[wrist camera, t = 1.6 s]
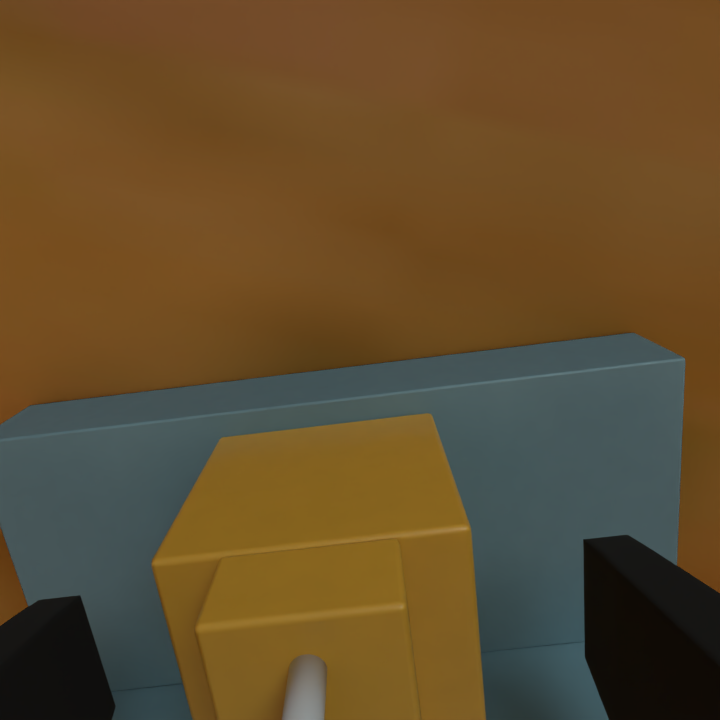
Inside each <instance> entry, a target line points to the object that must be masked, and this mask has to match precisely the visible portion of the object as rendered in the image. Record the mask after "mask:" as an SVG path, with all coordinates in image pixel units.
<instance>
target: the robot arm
mask: <svg viewBox="0 0 720 720" xmlns="http://www.w3.org/2000/svg"><path fill="white" fill-rule="evenodd" d="M583 552H584V634H585V659H586V662H587V664H588V667H589V669H590V672H591V675H592V677H593V680H594V683H595V685H596V688H597V690H598V693H599V696H600V698H601V701H602V703H603V706H604V708H605V711H606V713H607V716H608V718H609V720H720V593H718V592H717V591H715V590H713V589H712V588H710V587H709V586H707V585H706V584H704V583H703V582H701V581H700V580H698V579H696V578H695V577H693V576H692V575H690V574H689V573H687V572H686V571H684V570H683V569H681V568H680V567H678V566H677V565H675V564H673V563H672V562H670V561H669V560H667V559H666V558H664V557H663V556H661V555H660V554H658V553H656V552H655V551H653V550H652V549H650V548H649V547H647V546H645V545H644V544H642V543H641V542H639V541H637V540H636V539H634V538H632V537H631V536H629V535H619V536H610V537H601V538H591V539H583ZM115 707H116V706H115V702H114V699H113V696H112V693H111V690H110V687H109V684H108V680H107V677H106V674H105V671H104V668H103V665H102V662H101V658H100V655H99V652H98V649H97V646H96V643H95V640H94V636H93V633H92V630H91V627H90V624H89V621H88V618H87V614H86V611H85V608H84V605H83V602H82V599H81V596H80V595H78V596H69V597H60V598H51V599H42V600H38V601H37V602H35V603H34V604H32V605H30V606H29V607H27V608H26V609H24V610H23V611H21V612H20V613H18V614H17V615H15V616H14V617H12V618H11V619H10V620H8V621H7V622H5V623H4V624H2V625H1V626H0V720H112V717H113V714H114V710H115Z"/></svg>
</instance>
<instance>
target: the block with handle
mask: <svg viewBox="0 0 720 720" xmlns="http://www.w3.org/2000/svg"><path fill="white" fill-rule="evenodd" d="M151 566H152V571H153V574H154V578H155V582H156V586H157V589H158V593H159V597H160V600H161V604H162V608H163V612H164V615H165V619H166V623H167V627H168V630H169V634H170V638H171V641H172V645H173V649H174V653H175V656H176V660H177V664H178V667H179V671H180V675H181V679H182V682H183V686H184V690H185V694H186V697H187V701H188V705H189V708H190V712H191V716H192V720H486V711H485V698H484V685H483V673H482V660H481V647H480V634H479V621H478V609H477V596H476V583H475V570H474V557H473V544H472V532H471V526H470V523H469V521H468V518H467V515H466V512H465V509H464V506H463V503H462V500H461V497H460V494H459V492H458V489H457V486H456V483H455V480H454V477H453V474H452V471H451V468H450V465H449V463H448V460H447V457H446V454H445V451H444V448H443V445H442V442H441V439H440V436H439V434H438V431H437V428H436V425H435V422H434V419H433V417H432V415H431V414H429V413H425V414H417V415H408V416H400V417H391V418H383V419H374V420H366V421H357V422H349V423H340V424H332V425H323V426H315V427H306V428H298V429H289V430H281V431H272V432H264V433H255V434H247V435H238V436H230V437H223V438H221V439H220V440H219V441H218V443H217V445H216V447H215V448H214V450H213V452H212V454H211V456H210V457H209V459H208V461H207V463H206V465H205V466H204V468H203V470H202V472H201V473H200V475H199V477H198V479H197V481H196V482H195V484H194V486H193V488H192V490H191V491H190V493H189V495H188V497H187V498H186V500H185V502H184V504H183V506H182V507H181V509H180V511H179V513H178V515H177V516H176V518H175V520H174V522H173V523H172V525H171V527H170V529H169V531H168V532H167V534H166V536H165V538H164V540H163V541H162V543H161V545H160V547H159V548H158V550H157V552H156V554H155V556H154V557H153V559H152V563H151Z"/></svg>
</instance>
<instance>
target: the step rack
mask: <svg viewBox="0 0 720 720" xmlns="http://www.w3.org/2000/svg"><path fill="white" fill-rule="evenodd" d="M684 378H685V359H684V358H683V357H681V356H679V355H677V354H675V353H673V352H671V351H669V350H667V349H665V348H663V347H661V346H659V345H657V344H655V343H653V342H651V341H649V340H647V339H645V338H643V337H641V336H639V335H637V334H635V333H627V334H618V335H610V336H602V337H594V338H585V339H577V340H569V341H560V342H552V343H544V344H536V345H527V346H519V347H511V348H502V349H494V350H486V351H478V352H469V353H461V354H453V355H444V356H436V357H428V358H420V359H411V360H403V361H395V362H386V363H378V364H370V365H362V366H353V367H345V368H337V369H329V370H320V371H312V372H304V373H295V374H287V375H279V376H271V377H262V378H254V379H246V380H237V381H229V382H221V383H213V384H204V385H196V386H188V387H179V388H171V389H163V390H155V391H146V392H138V393H130V394H121V395H113V396H105V397H97V398H88V399H80V400H72V401H64V402H55V403H47V404H39V405H30V406H29V407H27V408H26V409H24V410H22V411H21V412H19V413H18V414H16V415H15V416H13V417H12V418H10V419H9V420H7V421H5V422H4V423H2V424H1V425H0V527H1V530H2V533H3V535H4V538H5V541H6V544H7V547H8V550H9V553H10V556H11V558H12V561H13V564H14V567H15V570H16V573H17V576H18V578H19V581H20V584H21V587H22V590H23V593H24V596H25V598H26V601H27V604H28V607H29V606H30V605H32V604H34V603H35V602H37V601H38V600H42V599H51V598H60V597H69V596H78V595H80V596H81V599H82V602H83V605H84V608H85V611H86V614H87V618H88V621H89V624H90V627H91V630H92V633H93V636H94V640H95V643H96V646H97V649H98V652H99V655H100V658H101V662H102V665H103V668H104V671H105V674H106V677H107V680H108V684H109V687H110V690H111V693H112V696H113V699H114V702H115V706H116V707H115V710H114V714H113V717H112V720H192V716H191V712H190V708H189V705H188V701H187V697H186V694H185V690H184V686H183V682H182V679H181V675H180V671H179V667H178V664H177V660H176V656H175V653H174V649H173V645H172V641H171V638H170V634H169V630H168V627H167V623H166V619H165V615H164V612H163V608H162V604H161V600H160V597H159V593H158V589H157V586H156V582H155V578H154V574H153V571H152V566H151V563H152V559H153V557H154V556H155V554H156V552H157V550H158V548H159V547H160V545H161V543H162V541H163V540H164V538H165V536H166V534H167V532H168V531H169V529H170V527H171V525H172V523H173V522H174V520H175V518H176V516H177V515H178V513H179V511H180V509H181V507H182V506H183V504H184V502H185V500H186V498H187V497H188V495H189V493H190V491H191V490H192V488H193V486H194V484H195V482H196V481H197V479H198V477H199V475H200V473H201V472H202V470H203V468H204V466H205V465H206V463H207V461H208V459H209V457H210V456H211V454H212V452H213V450H214V448H215V447H216V445H217V443H218V441H219V440H220V439H221V438H223V437H230V436H238V435H247V434H255V433H264V432H272V431H281V430H289V429H298V428H306V427H315V426H323V425H332V424H340V423H349V422H357V421H366V420H374V419H383V418H391V417H400V416H408V415H417V414H425V413H429V414H431V415H432V417H433V419H434V422H435V425H436V428H437V431H438V434H439V436H440V439H441V442H442V445H443V448H444V451H445V454H446V457H447V460H448V463H449V465H450V468H451V471H452V474H453V477H454V480H455V483H456V486H457V489H458V492H459V494H460V497H461V500H462V503H463V506H464V509H465V512H466V515H467V518H468V521H469V523H470V526H471V532H472V544H473V557H474V570H475V583H476V596H477V609H478V621H479V634H480V647H481V660H482V673H483V685H484V698H485V711H486V720H609V718H608V716H607V713H606V711H605V708H604V706H603V703H602V701H601V698H600V696H599V693H598V690H597V688H596V685H595V683H594V680H593V677H592V675H591V672H590V669H589V667H588V664H587V662H586V659H585V634H584V552H583V539H591V538H601V537H610V536H619V535H629V536H631V537H632V538H634V539H636V540H637V541H639V542H641V543H642V544H644V545H645V546H647V547H649V548H650V549H652V550H653V551H655V552H656V553H658V554H660V555H661V556H663V557H664V558H666V559H667V560H669V561H670V562H672V563H673V564H675V565H677V547H678V523H679V499H680V475H681V451H682V427H683V402H684Z"/></svg>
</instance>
